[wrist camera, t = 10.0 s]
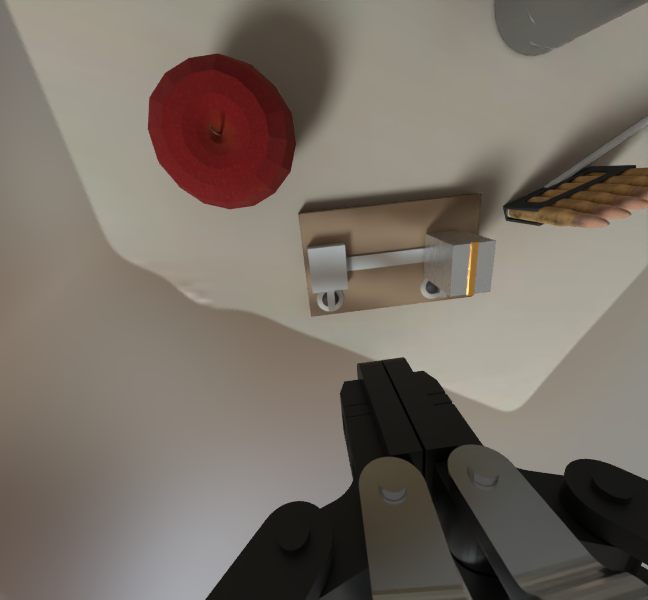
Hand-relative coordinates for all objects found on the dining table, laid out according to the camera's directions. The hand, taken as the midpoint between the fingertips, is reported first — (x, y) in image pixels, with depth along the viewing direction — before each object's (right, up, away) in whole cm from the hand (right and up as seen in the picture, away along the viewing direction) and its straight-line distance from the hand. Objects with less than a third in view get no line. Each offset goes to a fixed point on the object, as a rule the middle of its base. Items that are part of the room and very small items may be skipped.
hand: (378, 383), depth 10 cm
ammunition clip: (+24, +15, +26) cm, 38 cm away
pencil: (+30, +20, +25) cm, 43 cm away
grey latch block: (+12, +7, +25) cm, 29 cm away
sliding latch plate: (+6, +8, +27) cm, 28 cm away
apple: (-10, +18, +21) cm, 30 cm away
